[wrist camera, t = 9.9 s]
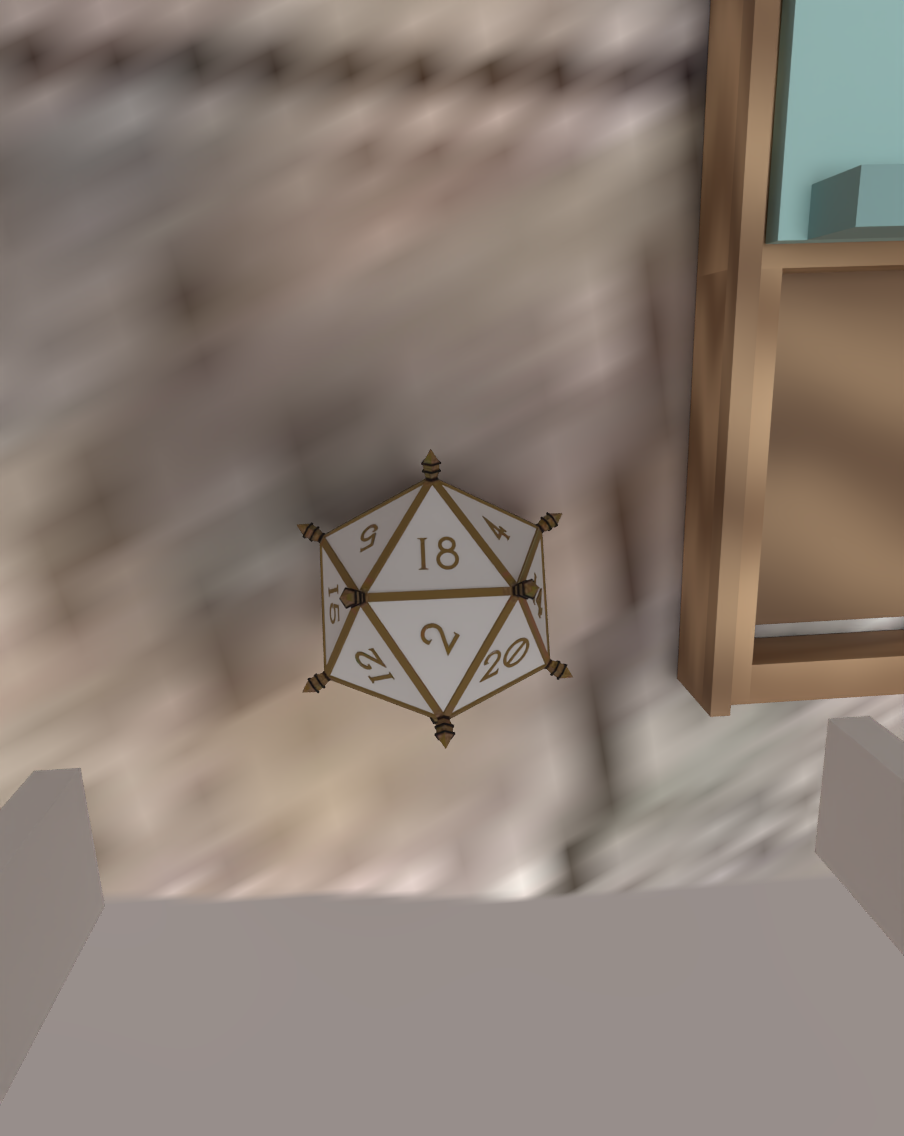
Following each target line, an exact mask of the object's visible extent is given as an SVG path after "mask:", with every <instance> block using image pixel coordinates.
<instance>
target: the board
mask: <svg viewBox="0 0 904 1136" xmlns="http://www.w3.org/2000/svg"><path fill="white" fill-rule="evenodd" d="M782 2H783V0H711V4H710V25H709V45H708V65H707V86H706V106H705V126H704V147H703V167H702V187H701V208H700V228H699V248H698V269H697V289H696V309H695V330H694V350H693V370H692V391H691V411H690V431H689V452H688V472H687V492H686V513H685V533H684V553H683V574H682V594H681V614H680V635H679V655H678V675H677V679H678V680H679V681H680V682H681V683H682V685H683V686H684V687H685V688H686V689H687V690H688V691H689V693H690V694H691V695H692V696H693V697H694V698H695V700H696V701H697V702H698V703H699V704H700V705H701V706H702V708H703V709H704V710H705V711H706V712H707V713H708V714H709V716H710V717H714V716H730V708H731V705H737V704H752V703H768V702H784V701H800V700H815V699H831V698H847V697H863V696H878V695H894V694H904V630H889V631H872V632H854V633H837V634H820V635H803V636H786V637H769V638H754V634H755V625H761V624H778V623H796V622H813V621H831V620H848V619H866V618H883V617H901V616H904V241H870V242H832V243H794V244H765V243H766V228H767V214H768V200H769V186H770V172H771V158H772V144H773V129H774V115H775V101H776V87H777V73H778V59H779V45H780V30H781V16H782Z"/></svg>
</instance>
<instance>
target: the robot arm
mask: <svg viewBox="0 0 904 1136" xmlns="http://www.w3.org/2000/svg"><path fill="white" fill-rule="evenodd" d="M815 853H816V854H817V855H818V856H819V857H820V858H821V860H822V861H823V862H824V863H825V864H826V865H827V867H828V868H829V869H830V870H831V871H832V872H833V874H834V875H835V876H836V877H837V878H838V879H839V881H840V882H841V883H842V884H843V885H844V886H845V888H846V889H847V890H848V891H849V892H850V893H851V894H852V896H853V897H854V898H855V899H856V900H857V902H858V903H859V904H860V905H861V906H862V907H863V909H864V910H865V911H866V912H867V913H868V914H869V916H870V917H872V919H873V920H874V921H875V922H876V924H877V925H878V926H879V927H880V928H881V929H882V931H883V932H884V933H885V934H886V935H887V937H889V939H890V940H891V941H892V942H893V943H894V945H895V946H896V947H897V948H898V949H899V951H900V952H901V953H902V954H903V955H904V742H903V741H902V740H901V739H899V738H898V737H897V736H895V735H894V734H893V733H891V732H890V731H889V730H887V729H886V728H885V727H883V726H882V725H881V724H879V723H878V722H877V721H875V720H874V719H873V718H871V717H870V716H862V717H847V718H832V719H828V727H827V737H826V747H825V757H824V766H823V776H822V786H821V796H820V805H819V815H818V825H817V835H816V844H815ZM104 906H105V904H104V898H103V893H102V887H101V881H100V876H99V870H98V864H97V859H96V853H95V848H94V842H93V836H92V831H91V825H90V819H89V814H88V808H87V802H86V797H85V791H84V785H83V780H82V774H81V768H71V769H56V770H41V771H33V773H32V774H31V775H30V776H29V777H28V778H27V779H26V781H25V782H24V783H23V784H22V785H21V786H20V787H19V789H18V790H17V791H16V792H15V793H14V794H13V796H12V797H11V798H10V799H9V800H8V801H7V802H6V804H5V805H4V806H3V807H2V808H1V809H0V1104H1V1103H2V1101H3V1099H4V1097H5V1095H6V1093H7V1091H8V1089H9V1088H10V1085H11V1084H12V1082H13V1080H14V1078H15V1076H16V1074H17V1072H18V1070H19V1068H20V1067H21V1065H22V1063H23V1061H24V1059H25V1057H26V1055H27V1053H28V1051H29V1049H30V1048H31V1046H32V1044H33V1042H34V1040H35V1038H36V1036H37V1034H38V1032H39V1030H40V1029H41V1027H42V1025H43V1023H44V1021H45V1019H46V1017H47V1015H48V1013H49V1011H50V1010H51V1008H52V1006H53V1004H54V1002H55V1000H56V998H57V996H58V994H59V992H60V991H61V989H62V987H63V985H64V983H65V981H66V979H67V977H68V975H69V973H70V971H71V970H72V968H73V966H74V964H75V962H76V960H77V958H78V956H79V954H80V952H81V950H82V949H83V947H84V945H85V943H86V941H87V939H88V937H89V935H90V933H91V931H92V930H93V927H94V926H95V924H96V922H97V920H98V918H99V916H100V914H101V913H102V911H103V909H104Z"/></svg>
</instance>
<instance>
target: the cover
mask: <svg viewBox="0 0 904 1136" xmlns="http://www.w3.org/2000/svg"><path fill="white" fill-rule="evenodd" d="M870 241H904V0H783V2H782V16H781V30H780V45H779V59H778V73H777V87H776V101H775V115H774V129H773V144H772V158H771V172H770V186H769V200H768V214H767V228H766V243H765V244H794V243H832V242H870Z"/></svg>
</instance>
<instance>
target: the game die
mask: <svg viewBox="0 0 904 1136" xmlns="http://www.w3.org/2000/svg"><path fill="white" fill-rule="evenodd" d="M439 464H441V462H440V461H439V460H438V459H437V458H436V456H435V455H434V453H433V452H432V450H431V449H430V451H429V453H428V455H427V456H426V458H425V459H424V460H423V461H422V463H421V465H423V468H424V469H423V470H422V472H423V473H424V474H425V477H426V479H424V480H423V481H421V482H419V483H417V484H415V485H414V486H412V487H410V488H408V489H406V490H404V491H403V492H401V493H399V494H397V495H395V496H393V497H392V498H390V499H388V500H386V501H384V502H383V503H381V504H379V505H377V506H375V507H373V508H372V509H370V510H368V511H366V512H364V513H363V514H361V515H359V516H357V517H355V518H353V519H352V520H350V521H348V522H346V523H344V524H342V525H341V526H339V527H337V528H335V529H333V530H332V531H330V532H328V533H326V534H325V533H322V532H321V530H320V529H319V527H315V526H314V525H313V523H311V524H299V525H297V526H298V528H299V529H300V531H301V533H302V534H303V537H304V538H308V539H309V540H310V541H311V542H312V541H316V542H319V543H320V566H321V594H322V623H323V651H324V671H323V673H321V674H318V675H317V674H315V675H314V677H313V678H308V682H307V684H306V686H305V688H304V690H303V692H317V693H319V690H320V689H321V688H325V685H326V683H327V682H328V681H330V680H332V681H335V682H337V683H340V684H343V685H345V686H348V687H351V688H353V689H356V690H359V691H361V692H364V693H367V694H369V695H372V696H375V697H377V698H380V699H383V700H385V701H388V702H391V703H393V704H396V705H399V706H401V707H404V708H407V709H409V710H412V711H415V712H417V713H420V714H423V715H425V716H428V717H430V719H431V721H432V722H433V724H436V726H435V729H436V733H435V736H436V738H437V739H438V740H440V741H441V743H442V744H443V746H444V747H445V748H447V746H448V744H449V742H450V740H451V739H452V738H453V736H454V735H455V732H453V727H454V725H453V724H451V722H450V719H451V718H453V717H455V716H457V715H458V714H460V713H462V712H464V711H466V710H468V709H470V708H471V707H473V706H475V705H477V704H479V703H481V702H483V701H484V700H486V699H488V698H490V697H492V696H494V695H496V694H497V693H499V692H501V691H503V690H505V689H507V688H509V687H511V686H512V685H514V684H516V683H518V682H520V681H522V680H524V679H525V678H527V677H529V676H531V675H533V674H535V673H537V672H538V671H540V670H542V669H547V670H548V671H549V672H550V673H551V674H550V675H551V676H552V675H554V676H556V677H557V680H559V678H570V677H573V676H572V675H571V673H570V671H569V670H568V668H567V664H561V663H560V661H552V660H551V659H550V650H549V634H548V618H547V602H546V585H545V569H544V553H543V537H542V533H543V532H544V531H547V530H548V531H550V530H551V529H552V528H553V527H557V526H558V521H559V519H560V517H561V515H562V513H555V514H549V513H548V512H547V513H546V514H547V515H546V516H545V517H541V520H540V521H539V523H538V524H533V523H531V522H529V521H527V520H525V519H522V518H520V517H518V516H516V515H514V514H512V513H510V512H507V511H505V510H503V509H501V508H499V507H497V506H495V505H492V504H490V503H488V502H486V501H484V500H482V499H480V498H477V497H475V496H473V495H471V494H469V493H467V492H465V491H462V490H460V489H458V488H456V487H454V486H452V485H449V484H447V483H445V482H443V481H441V480H439V479H438V478H437V476H438V473H439V472H441V470H440V469H439Z"/></svg>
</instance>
